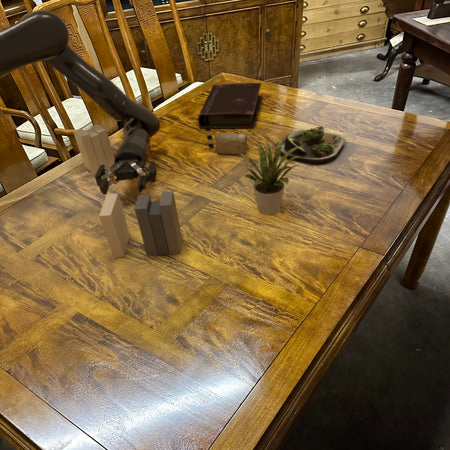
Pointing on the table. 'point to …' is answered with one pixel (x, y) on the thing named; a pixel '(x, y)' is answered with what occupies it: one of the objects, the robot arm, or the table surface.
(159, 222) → the grey books
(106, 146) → the beige books
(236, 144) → the cuneiform tablet
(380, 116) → the table surface
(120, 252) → the beige book
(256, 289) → the table surface
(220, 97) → the diary
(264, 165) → the house plant
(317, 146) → the salad plate
